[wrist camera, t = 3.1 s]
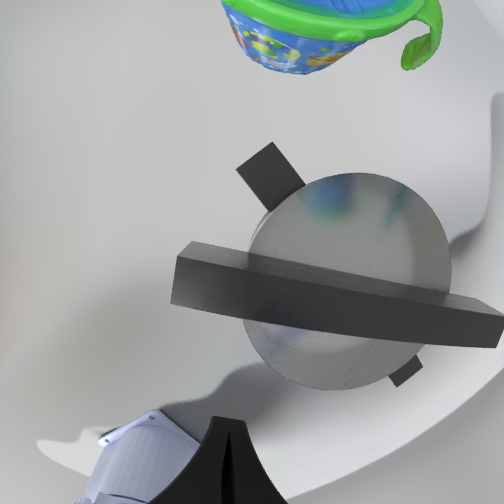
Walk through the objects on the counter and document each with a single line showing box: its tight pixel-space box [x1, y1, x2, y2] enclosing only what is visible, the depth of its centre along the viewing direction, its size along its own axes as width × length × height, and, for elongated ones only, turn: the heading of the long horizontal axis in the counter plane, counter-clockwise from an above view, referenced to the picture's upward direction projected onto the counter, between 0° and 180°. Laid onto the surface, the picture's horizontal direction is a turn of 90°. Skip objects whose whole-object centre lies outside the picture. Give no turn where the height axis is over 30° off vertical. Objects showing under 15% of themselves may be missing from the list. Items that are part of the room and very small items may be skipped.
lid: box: [171, 173, 504, 390], centre depth 14 cm, size 18×13×4 cm
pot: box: [236, 142, 423, 388], centre depth 19 cm, size 18×12×4 cm, turn 38°
